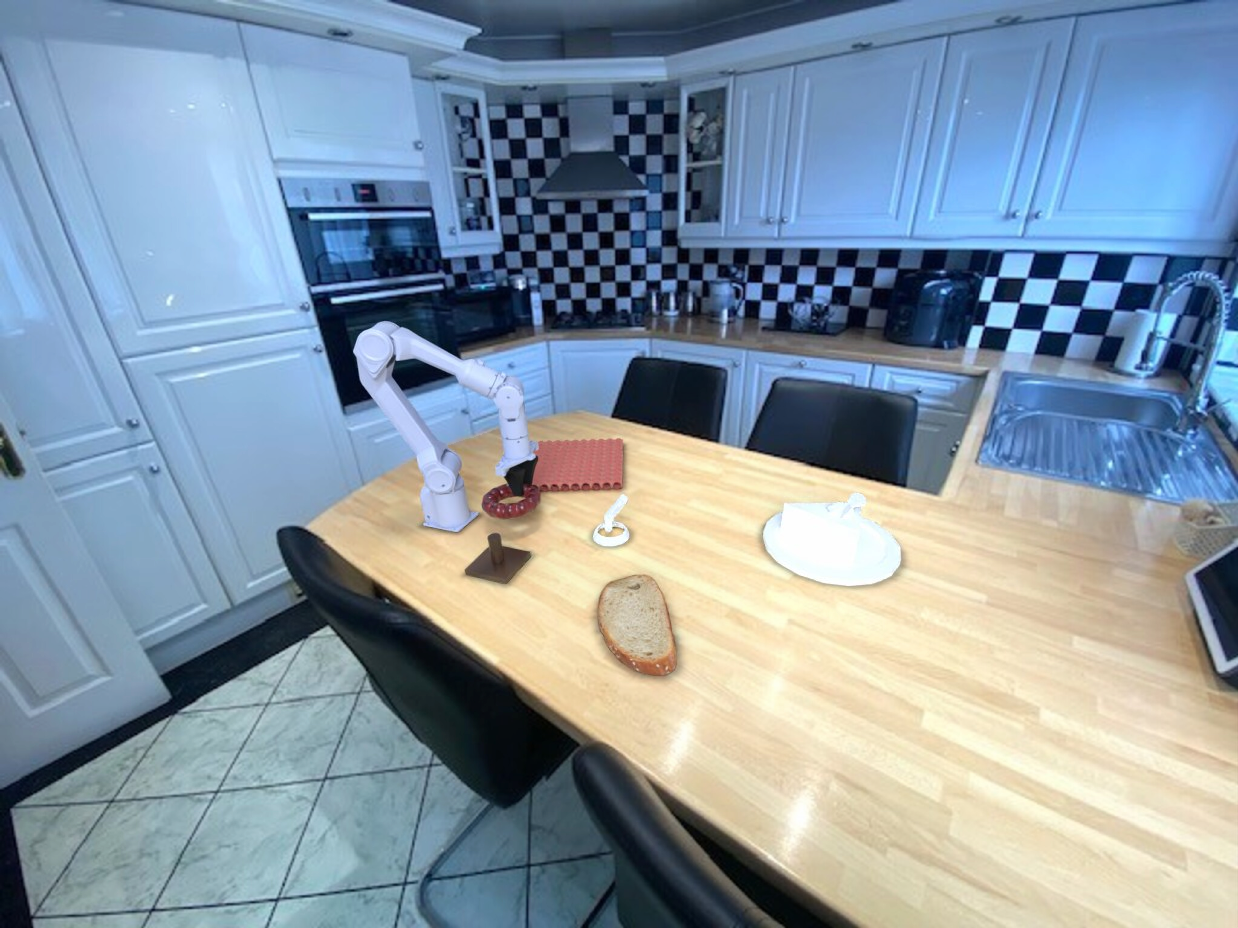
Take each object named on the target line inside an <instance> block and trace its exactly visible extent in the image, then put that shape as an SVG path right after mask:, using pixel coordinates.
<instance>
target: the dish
mask: <svg viewBox="0 0 1238 928" xmlns="http://www.w3.org/2000/svg"><path fill="white" fill-rule="evenodd" d="M866 505H867V498H866V497H865V496H864V494H862V493H860V492H852V493H850V495H849V497H848V499H847V501H846V502H845V501H836V502H835V501H834V502H784V503H783V507H782V511H781V512H778V513H776V514H775V515H773V516H772V517H771V518H770V519H768V520H767V521H766V523H765V526H764V528H763V532H762V540H763V541H762V542H763V544H764V546H765V550H766V552H767V553H768V554H769V555H770V556H771V557H772V558H773V560H775V561H776V562H777V564H779V565H781V566H782V567H783V568H786V569H788V570H790V571H791V572H792V573H795V574H796V575H798V576H801V577H803V578H807V579H811V580H813V581H816V582H819V583H822V584H829V585H838V586H845V587H854V586H865V585H874V584H877V583H880V582H881V581H883V580H886V579H888V578H891V577H892V576H893V574H894V573H895V572H896V570H897V569H898V568H899V567H900V565H901V561H902V553H901V546H900V544H899V543H898V542H897V540H896V539H895V537H894V536H893V534H892V533H891V532H890V531H888V530H886V529H885V528H884V527H882V526H881V525H879V524H878V523H877V522H875V521H872V520H870V519H868V518H866V517H863V516H862V507H866Z"/></svg>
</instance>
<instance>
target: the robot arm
mask: <svg viewBox="0 0 1238 928" xmlns="http://www.w3.org/2000/svg"><path fill="white" fill-rule="evenodd" d="M352 351H353V355H354V356H355V357H356V362H357V368H358V376H359V381H360V383H361V385H362V386H363V387H364V389H365V390H366V391H367V393H368V394H369V395H370V397H371V398H372V400H373V401H374V402H375V403H376V405H377V406H378V407H379V408H380V410H381V411H382V412H383V414H384V416H386V417H387V419H388V420H389V422H390V423H391V425H392V426H393V427H394V428H395V429H396V431H397V432H398V433H399V435H400V436H401V437H402V439H403V440H404V441H405V443H406V444H407V445H408V447H409V448H410V449H411V451H412V452H413V453H414V455H415V456H416V460H417V461H416V462H417V467H418V470H419V471H420V473H421V474H422V477H423V482H424V485H423V487H422V488H421V490H420V494H419V500H420V505H421V509H422V513H423V517H424V522H423V523H422V525H423V527H429V528H434V529H439V530H444V531H448V532H453V533H459V532H460V531H462V530H463V529H464V528H465V527H466V526H467V525H469V524H470V523H471V522H472V521H473V520H474V519H475V518H477V517H478V516H479V512H478V511H472V510H470V507H469V501H468V497H467V491H466V485H465V482H464V481H465V479H463V478H462V476H461V474H460V471H461V469H462V466H463V461H462V458H461V456H460V455H459V453H458V452H456V451H455V450H452V449H451V448H450V447H449V446H448V445H447V444H446V442H443V441H441V440H439V439H437V437H436V435H435V434H434V433H433V432H432V430H431V429H430V427H429V426H428V425H427V423H426V422H425V420H424V419H423V418H422V416H421V415H420V413H419V412H418V411H417V409H416V408H415V406H414V405H413V404H412V403H411V401H410V400H409V398H408V397H407V396H406V394H405V393H404V392H403V390H402V389H401V387H400V386H399V384H398V383H397V382H396V380H395V379H394V378H393V375H392V374H393V370H394V366H395V363H396V362H399V361H406V360H413V359H415V360H418V361H421V362H422V363H425V364H428V365H430V366H432V367H435V368H437V369H439V370H441V371H443V372H446V373H448V374H450V375H452V376H454V377H455V378H456V380H457V382H458V384H459V385H460V386H461V387H463V388H465V389H468V390H470V391H472V392H474V393H476V394H478V395H480V396H482V397H485V398H486V399H488V400H493V403H494V405H495V407H497V411H498V417H497V418H498V424H499V430H500V431H499V432H500V437H501V444H502V451H503V454H502V456H501V458H500V459H499V462H498V463H497V465H496V466H494V472H495V477H496V476H497V477H503V479H504V480H505V481H506V484H508V485H509V487H510V489H511V491H512V493H513V495H514V496H519V497H518V498H521V496H523V483H525V484H530V485H532V483H533V475H534V470H535V467H536V464H537V462H538V460H539V459H538V456H536V455H535V454H533V453H534V451H537V450H539V445H538V442H539V441H538V440H537V441H536V440H530V433H529V425H528V424H529V423H528V418H527V417H528V416H527V412H526V405H525V401H524V400H525V396H524V394H525V386H524V384H523V382H522V380H520V379H519V377H517V376H515V375H514V374H507V372H504V371H501V372H500V371H497V370H496V369H493V368H492V367H490V366H488V365H486V364H485V362H486V361H485V360H483V359H481V358H478V359H474V358H469V359H465V360H462V359H460V358H459V357H458V356H455V355H453V354H452V353H450V352H448V351H446V350H445V349H443V348H441V347H439V346H438V345H436V344H434V343H432V342H431V341H428V340H427V339H425V338H423V337H421V336H419V335H418V334H416V333H415V332H413V331H412V330H410V329H408V328H406V327H403V326H401V327H400V326H399V325H397V324H396V323H394V322H391V321H387V320H384V321H379V322H376V324H375V325H373V326H372V327H371V328H368V329H365V330H363V331H362V332H360V334H359V335H358V336H357V338H356V341H355V344H354V348H353V350H352Z"/></svg>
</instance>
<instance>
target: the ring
mask: <svg viewBox="0 0 1238 928" xmlns="http://www.w3.org/2000/svg"><path fill="white" fill-rule="evenodd" d="M510 498H522V499H521V500H518V501H516V502H508V503H503V502H501V501H505V500H506V499H507V500H508V499H510ZM541 503H542V495H541V490H538V489H537V488H535V487H534V486H532V485H530V484H525V483H523V496H521V497H519V496H514V495H513V493H512V491H511V489H510V487H509V485H508V483H503V484H501V485H497V486H495V487H493V488H491V489H489V490H488V491H487V492H486V493H485V494H484V495H483V497H482V501H481V510H482V511H484V512H485V513H486V514H487V515H488V516H489V517H491V518H494V519H501V520H511V519H512V520H513V519H519V518H522V517H525V516H527V515H530V514H531V513H533V512H534V511H536V509H537V508H538V507H539V506H540V505H541Z"/></svg>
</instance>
